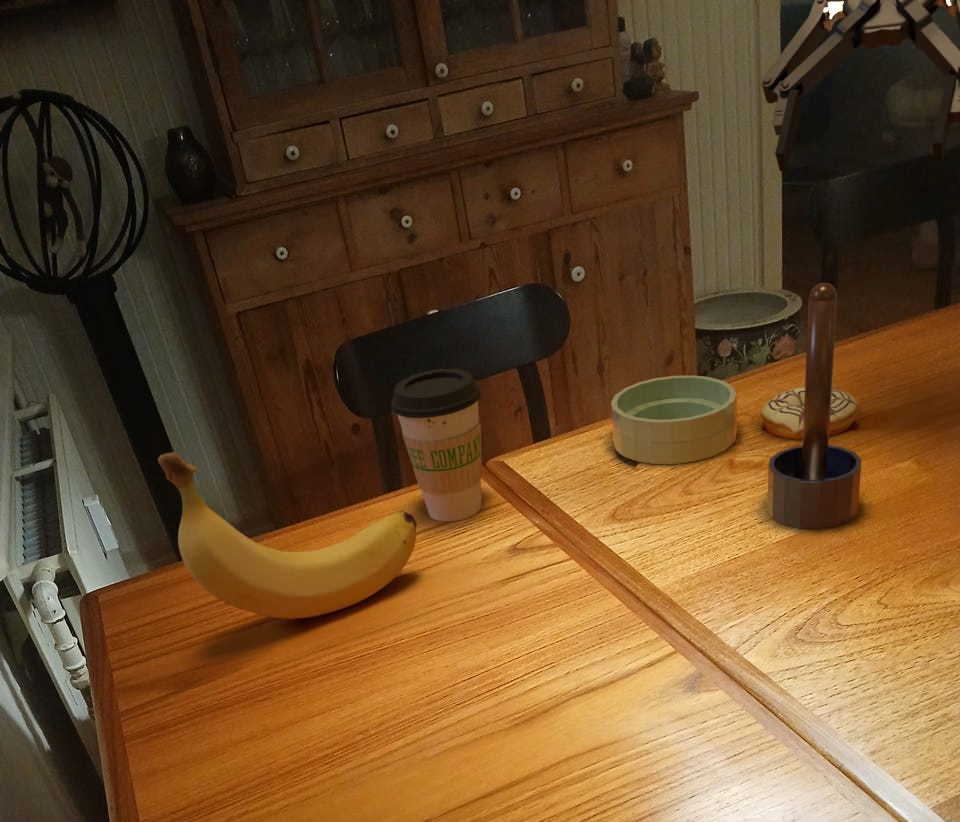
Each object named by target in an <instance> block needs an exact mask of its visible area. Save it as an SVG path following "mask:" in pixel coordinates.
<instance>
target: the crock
mask: <svg viewBox="0 0 960 822" xmlns="http://www.w3.org/2000/svg"><path fill="white" fill-rule="evenodd" d="M802 447H803V445H797V446H791V447H788V448H785V449H784V450H780V451H778V452H777V453H776V454H774V455H773V456H771V457H770V459H769V462H768V468H767V469H768V470H767V511H766V512H767V514H768V515H769V517H770V518H771V519H772V521H774V522H776V523H778V524H780V525H782V526H784V527H787V528H792V529H796V530H805V531H806V530H808V531H809V530H810V531H820V530H821V531H822V530H827V529H828V530H829V529H833V528H838V527H840V526H843V525H846V524H847V523H850V522H851V521H852V520H853V519H855V517H856V516H858V511H859V501H860V500H859V499H860V486H861V485H860V484H861V476H862V475H861V473H862V462H863V460H862V458H861V457H860V456H859V454H857V453H856V452H855V451H853V450H850V449H847V448H845V447H842V446H837V445H831V444H829V446H828V463H827V479H822V480H803V479H801V470H802Z"/></svg>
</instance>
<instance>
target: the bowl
mask: <svg viewBox="0 0 960 822" xmlns="http://www.w3.org/2000/svg"><path fill="white" fill-rule="evenodd" d="M610 409H611V411H610V412H611V422H612V423H611V425H612V436H613V437H612V439H613V445H614V449H615V450H616V451H617V452H618V454H620V455H621V456H622V457H624V458H626V459H629V460H632V461H635V462H638V463H639V462H640V463H646V464H651V465H677V464H678V465H680V464H687V463H693V462H697V461H701V460H705V459H709V458H713V457H714V456H716V455H719V454H720V453H723V452H725V451H727V450H728V449H729V448H730V447H731V446H732V445H733V444H734V443H735V441H736V438H737V435H738V433H737V432H738V393H737V391H736V389H735V387H734V386H733V385H732V384H730V383H728V382H726V381H725V380H722V379H717V378H714V377H711V376H704V375H703V376H702V375H671V376H664V377H663V376H662V377H656V378H655V377H654V378H651V379H647V380H643V381H639V382H637V383H634V384H632V385H629V386H627V387H625V388H623V389H621V390H620V391H619V392H617V393H616V394H614V396H613V398H612V399H611V401H610Z"/></svg>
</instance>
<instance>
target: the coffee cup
mask: <svg viewBox="0 0 960 822" xmlns="http://www.w3.org/2000/svg"><path fill="white" fill-rule="evenodd" d="M393 391H394V392H393V397H392V399H391V408H390V409H391V411H392V412H393V413H394V414H396V415H397V418H398V422H399V424H400V427H401V435H402V439H403V442H404V444H405V447H406V451H407V453H408V457H409V460H410V462H411V466H412V470H413V472H414V476H415V478H416V481H417V485H418V488H419V489H420V490H421V494H422V497H423V500H424V503H425V507H426V510H427V512H428V515H429V517H430V518H431V519H433V520H435V521H439V522H446V523H447V522H458V521H463V520H465V519H469V518H471V517H473V516H475V515H477V513H479V512H480V510H481V509H482V505H483V504H482V503H483V501H482V478H483V463H482V431H481V430H482V428H481V418H480V416H479V400H480V399H481V398H482V390H481V387H480V385H479V384H478V383H477V382H475V379H474V376H473V374H472V373H470V372H469V371H467V370H463V369H457V368H442V369H441V368H439V369H432V370H426V371H423V372H419V373H416V374H412V375H410V376H408V377H406V378H404V379H402V380H401V381H399V382H398V383H397V384H396V385H395V386H394V390H393Z"/></svg>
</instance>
